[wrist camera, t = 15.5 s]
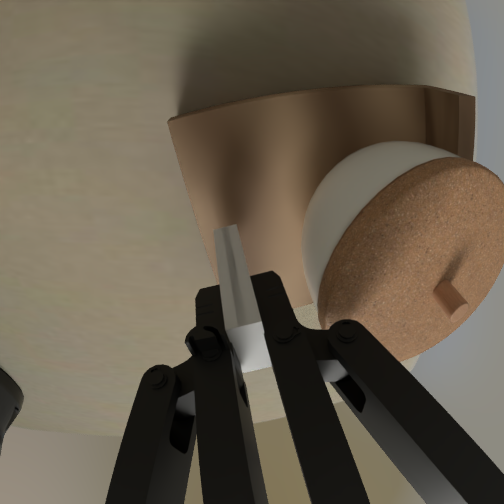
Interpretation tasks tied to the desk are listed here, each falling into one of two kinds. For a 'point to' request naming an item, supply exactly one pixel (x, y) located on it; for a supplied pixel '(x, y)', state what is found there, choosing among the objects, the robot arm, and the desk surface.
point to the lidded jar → (403, 243)
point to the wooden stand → (299, 159)
